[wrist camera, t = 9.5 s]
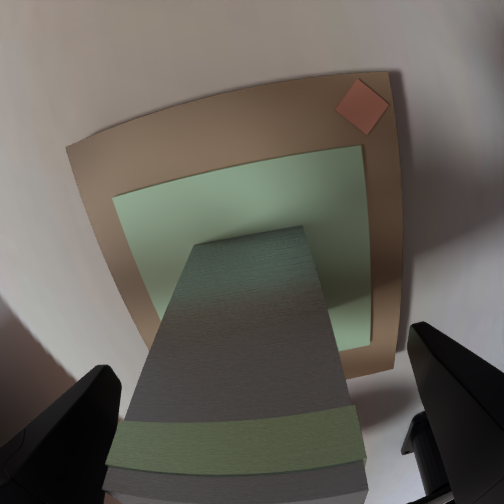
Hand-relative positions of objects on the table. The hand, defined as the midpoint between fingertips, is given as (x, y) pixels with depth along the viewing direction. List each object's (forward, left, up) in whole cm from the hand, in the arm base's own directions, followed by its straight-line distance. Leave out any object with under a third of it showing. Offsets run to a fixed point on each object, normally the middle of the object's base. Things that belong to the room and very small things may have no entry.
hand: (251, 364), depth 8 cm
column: (0, 0, -4) cm, 4 cm away
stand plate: (0, 0, -6) cm, 6 cm away
